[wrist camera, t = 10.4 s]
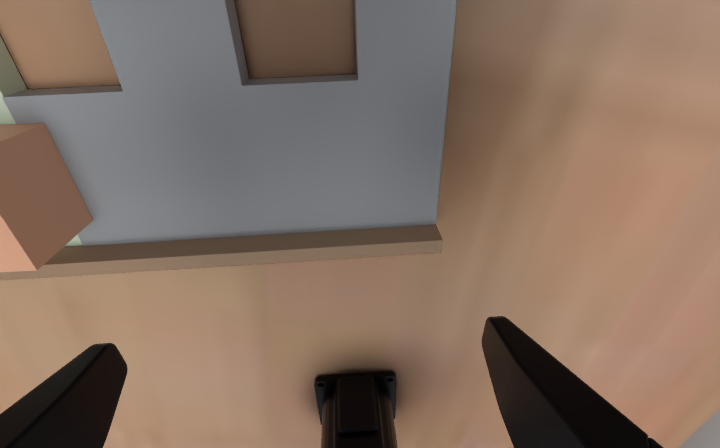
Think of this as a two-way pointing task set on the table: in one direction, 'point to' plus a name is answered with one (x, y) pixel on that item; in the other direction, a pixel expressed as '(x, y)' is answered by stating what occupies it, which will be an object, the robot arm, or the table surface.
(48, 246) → the terracotta block
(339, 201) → the box
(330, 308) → the table surface
